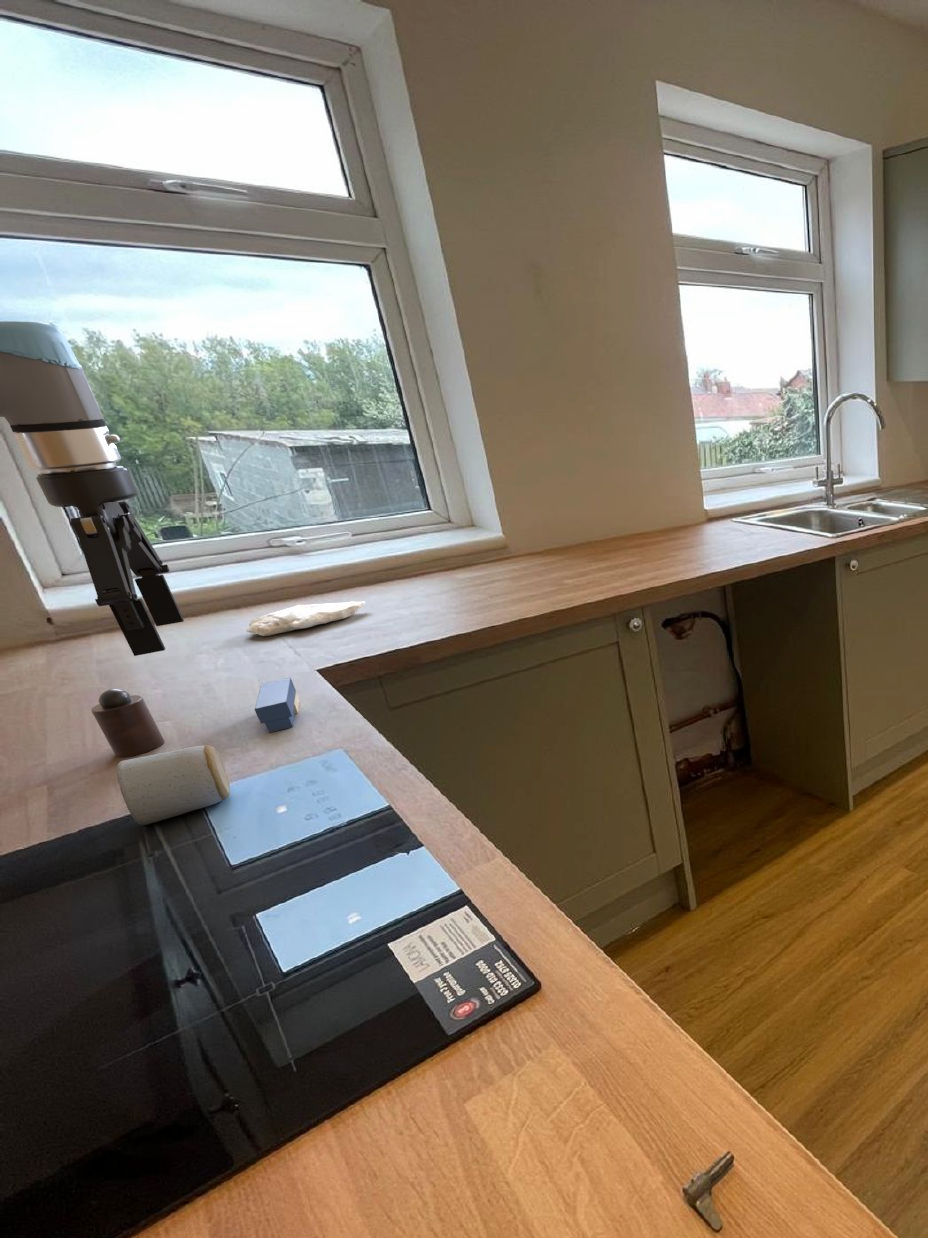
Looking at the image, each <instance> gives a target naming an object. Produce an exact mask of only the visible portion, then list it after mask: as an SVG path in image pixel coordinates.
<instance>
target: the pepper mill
mask: <svg viewBox="0 0 928 1238" xmlns="http://www.w3.org/2000/svg"><path fill="white" fill-rule="evenodd" d="M90 711H91V713H92V715H93V717H94V719H95V720H96V722H97V724H98V726H99V728H100V729H101V731H102V733H103V735H104V737H105V739H106V741H107V742H108V744H109V746H110V748H111V750H112V752H113V753H114V755H115V757H118V758H128V757H129V758H130V757H133V756H139V755H142V754H146V753H148V752H151V751H154V750H155V749H157V748H159V747H161V746H162V745H164V744H165V739H164V737H163V735H162V733H161V731H160V729H159V727H158V725H157V723H156V721H155V719H154V716H153V715H152V714H151V712H150V710H149V708H148V706H147V704H146V701H145V699H144V698H143V696H142V695H140V694H139V695H133V694H132V695H131V694H130V693H129V692H128V691H126V690H124V689H121V688H110V689H108V690H105V691H104V692H102V693H101V694H99V697H98V704H96V705H95V706H93V707H92V708H91V709H90Z"/></svg>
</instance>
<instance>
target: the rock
mask: <svg viewBox="0 0 928 1238" xmlns="http://www.w3.org/2000/svg"><path fill="white" fill-rule="evenodd" d="M365 604H366V601H363V600H361V601H353V600H352V601H351V600H350V601H345V602H344V601H343V602H327V603H312V604H296V605H294V606H291V607H287V608H284V609H281V610H277V611H273V612H270V613H267V614H264V615H261V616H259V617H257V618H254V619H253V620H251V621H250V622H249V623H248V627H247V628H246V632H247V633H249V634H254V635H259V636H263V637H268V636H269V637H270V636H273V635H278V634H283V633H288V632H292V631H295V630H303V629H308V628H312V627H315V626H318V625H323V624H324V625H325V624H327V623H328V624H329V623H331V622H335V621H340V620H343V619H347V618H349V617H351V616H353V615H355V614H356V613H357V612H358V611H359V610H360V609H361V607H363V606H364V605H365Z"/></svg>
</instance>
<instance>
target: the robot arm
mask: <svg viewBox="0 0 928 1238" xmlns="http://www.w3.org/2000/svg"><path fill="white" fill-rule="evenodd" d="M0 418H4V419H5V420H6V421H7V423H8V424H9V427H10V429H11V431H12V433H13V435H14V437H15V439H16V440H15V441H16V442H17V444H18V446H19V448H20V450H21V452H22V455H23V457H24V458H25V460H26V462H27V464H28V466H29V468H31V469H33V470H38V471H39V472H40V473H38V474H37V477H35V479H36V481H37V483H38V486H39V487H40V489H41V491H42V493H43V496H44V498H45V499H46V501H47V503H48V504H49V505H51V506H53V507H56V508H67V507H68V508H69V507H75V508H76V509H77V511H78V514H79V517H72V518H70V525H71V526H72V527H73V529H74V531H75V535H76V536H77V538H78V541H79V545H80V547H81V550H82V553H83V556H84V560H85V562H86V566H87V568H88V571H89V575H90V578H91V581H92V584H93V587H94V590H95V593H96V598H95V599H94V601H95V603H96V605H97V606H98V607H106V606H109V608H110V610H111V612H112V614H113V616H114V618H115V621H116V622H117V624H118V626H119V628H120V630H121V632H122V634H123V637H124V638H125V640H126V643H127V644H128V646H129V649H130V650H131V652H132V654H133V656H134V657H137V656H142V655H147V654H153V653H157V652H164V651H166V647H165V645H164V642H163V640H162V638H161V636H160V634H159V632H158V630H157V628H156V627H161V626H167V625H173V624H178V623H183V622H184V621H185V619H184V616H183V615H182V612H181V610H180V608H179V606H178V604H177V601H176V599H175V597H174V595H173V593H172V591H171V588H170V586H169V584H168V582H167V580H166V577H165V575H164V574H168V573H170V572H171V570H170V568H169V566H168V565H169V564H163V563H164V562H163V560H162V559H161V557H160V556H159V554H158V553H157V551H156V550H155V548H154V546H153V545H152V543H151V542H150V539H148V537H147V534H146V533H145V532H144V530H143V529H142V527H141V526H140V523H139V522H138V519H136V517H135V515H134V513H133V511H132V509H131V505H130V504H129V503H128V502H127V501H126V500H131V499H134V498H136V497H137V496H138V490H137V488H136V486H135V484H134V481H133V479H132V477H131V474H130V472H129V471H128V468H125V467H124V466H123V465H117V463H118V462H120V461H121V460H122V456H121V454H120V452H119V450H118V448H117V445H115V444H120V443H121V438H120V437H119V435H117V434H110V430H109V428H108V427H107V422H106V420H105V418H104V416H103V413H102V411H101V409H100V407H99V404H98V401H97V400H96V396H95V395H94V393H93V390H92V388H91V386H90V384H89V381H88V378H87V376H86V374H85V372H84V369H83V366H82V364H80V363H79V361H78V359H77V357H76V355H75V353H74V351H73V349H72V347H71V345H70V343H69V342H68V339H67V337H66V336H65V333H64V332H62V330H60V329H59V328H58V327H56V326H54V325H53V324H50V323H46V322H40V321H11V320H9V321H8V320H7V321H6V320H5V321H3V320H0ZM132 573H133V574H134V575H135V576H136V578H135V579H133V574H132ZM135 584H136V586H137V588H138V590H139V592H140V594H141V595H140V596H141V598H138V594H137V591H136V587H135ZM150 615H151V616H150Z"/></svg>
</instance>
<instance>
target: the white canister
mask: <svg viewBox="0 0 928 1238" xmlns="http://www.w3.org/2000/svg"><path fill="white" fill-rule="evenodd" d="M116 778H117V783H118V786H119V790H120V793H121V796H122V798H123V801H124V804H125V805H126V808H127V809H128V812H129V813H130V815H131V817H132V818H133V820H134V822H135V823H136V824H138V825H139V826H148V825H151V824H154V823H158V822H160V821H164V820H167V819H172V818H175V817H177V816H180V815H184V814H187V813H189V812H193V811H197V810H200V809H203V808H207V807H210V806H213V805H215V804H218V803H220V802H222V801H225V800H226V799H227V798H228V797H229V796H230V795H231V785H230V780H229V776H228V773H227V771H226V768H225V765H224V762H223V760H222V757H221V755H220V753H219V752H218V750H217V749H216V747H214V746H212V745H208V744H207V745H194V746H188V747H183V748H179V749H175V750H169V751H165V752H160V753H155V754H149V755H143V756H140V757H139V756H138V757H135V758H130V759H125V760H121V761H119V762H118V763H117V767H116Z"/></svg>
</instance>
